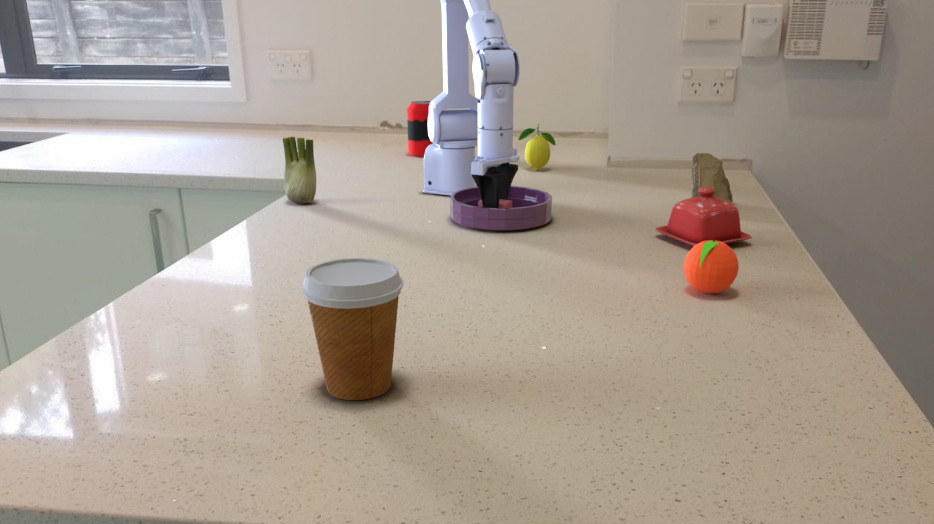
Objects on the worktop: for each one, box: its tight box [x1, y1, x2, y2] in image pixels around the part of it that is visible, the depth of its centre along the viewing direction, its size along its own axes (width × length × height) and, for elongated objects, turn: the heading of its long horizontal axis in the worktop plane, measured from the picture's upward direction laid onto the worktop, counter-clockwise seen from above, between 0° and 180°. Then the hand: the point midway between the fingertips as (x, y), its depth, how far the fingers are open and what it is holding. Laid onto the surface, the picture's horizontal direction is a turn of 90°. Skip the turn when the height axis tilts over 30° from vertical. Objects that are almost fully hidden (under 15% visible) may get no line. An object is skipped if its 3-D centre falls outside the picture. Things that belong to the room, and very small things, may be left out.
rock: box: [690, 152, 734, 204], centre depth 152 cm, size 11×9×10 cm
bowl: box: [449, 185, 553, 232], centre depth 143 cm, size 17×17×4 cm
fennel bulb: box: [282, 136, 317, 205], centre depth 151 cm, size 6×5×12 cm
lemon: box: [517, 123, 556, 171], centre depth 181 cm, size 7×6×10 cm
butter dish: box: [654, 187, 753, 248], centre depth 131 cm, size 12×12×8 cm
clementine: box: [683, 239, 740, 295], centre depth 108 cm, size 8×7×7 cm
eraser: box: [478, 199, 512, 208], centre depth 140 cm, size 5×3×3 cm, turn 67°
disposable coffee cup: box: [300, 257, 404, 401], centre depth 81 cm, size 10×10×12 cm
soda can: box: [406, 100, 433, 158], centre depth 197 cm, size 8×8×12 cm
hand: (494, 210), depth 141 cm, fingers closed on eraser, 3 cm apart
